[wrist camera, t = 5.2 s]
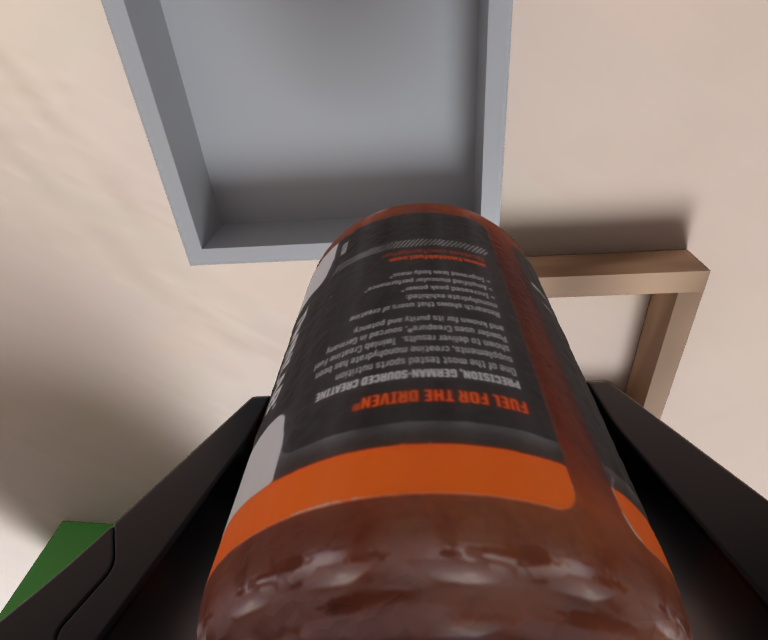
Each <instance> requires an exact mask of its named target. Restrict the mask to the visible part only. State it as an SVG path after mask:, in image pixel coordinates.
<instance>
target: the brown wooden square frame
mask: <svg viewBox="0 0 768 640" xmlns="http://www.w3.org/2000/svg"><path fill="white" fill-rule="evenodd" d="M526 258H527V259H528V261H529V262H530V263H531V265H532V267H533V269H534V271H535V273H536V274H537V276H538V279H539V281H540V283H541V286H542V288H543V290H544V292H545V294H546V296H547V298H552V297H578V296H605V295H632V294H652V296H651V300H650V303H649V307H648V311H647V314H646V318H645V322H644V325H643V329H642V333H641V337H640V340H639V344H638V348H637V351H636V355H635V359H634V362H633V366H632V370H631V374H630V377H629V381H628V385H627V388H626V392H625V394H626V395H628V396H629V397H630V398H632V399H633V400H634V401H636V402H637V403H638V404H640V405H641V406H642V407H644V408H645V409H646V410H648V411H649V412H650V413H652V414H653V415H654V416H656V417H657V418H658V419H660V418H661V416H662V413H663V410H664V407H665V404H666V401H667V398H668V395H669V392H670V389H671V386H672V383H673V380H674V377H675V374H676V371H677V368H678V365H679V362H680V359H681V356H682V354H683V351H684V348H685V345H686V342H687V339H688V336H689V333H690V330H691V327H692V324H693V321H694V318H695V315H696V312H697V309H698V306H699V303H700V300H701V297H702V294H703V291H704V289H705V286H706V283H707V280H708V277H709V274H710V270H709V269H708V268H707V267H706V266H705V265H704V264H703V263H702V262H700V261H699V260H698V259H697V258H696V257H695V256H694V255H693V254H692V253H691V252H689V251H688V250H667V251H645V252H622V253H600V254H578V255H555V256H533V257H526Z"/></svg>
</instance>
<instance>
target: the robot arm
mask: <svg viewBox="0 0 768 640" xmlns="http://www.w3.org/2000/svg"><path fill="white" fill-rule="evenodd" d="M586 384H587V385H588V387H589V389H590V392H591V394H592V396H593V398H594V400H595V402H596V405H597V407H598V410H599V412H600V414H601V416H602V418H603V420H604V422H605V425H606V428H607V430H608V432H609V434H610V437H611V439H612V441H613V443H614V445H615V447H616V450H617V452H618V455H619V457H620V458H621V460H622V462H623V464H624V466H625V469H626V471H627V474H628V476H629V479H630V480H631V482H632V484H633V486H634V489H635V491H636V493H637V496H638V498H639V500H640V502H641V504H642V506H643V508H644V511H645V513H646V515H647V518H648V521H649V524H650V526H651V528H652V530H653V532H654V534H655V536H656V538H657V540H658V542H659V544H660V546H661V548H662V551H663V553H664V555H665V558H666V560H667V562H668V565H669V567H670V569H671V572H672V574H673V576H674V579H675V581H676V584H677V586H678V589H679V592H680V597H681V601H682V603H683V606H684V608H685V611H686V614H687V616H688V619H689V622H690V626H691V630H692V634H693V639H694V640H768V500H767V499H765V498H764V497H763V496H761V495H760V494H759V493H757V492H756V491H755V490H753V489H752V488H751V487H749V486H748V485H747V484H745V483H744V482H743V481H741V480H740V479H739V478H737V477H736V476H735V475H733V474H732V473H731V472H729V471H728V470H727V469H725V468H724V467H723V466H721V465H720V464H719V463H717V462H716V461H715V460H713V459H712V458H710V457H709V456H708V455H706V454H705V453H704V452H702V451H701V450H700V449H698V448H697V447H696V446H694V445H693V444H692V443H690V442H689V441H688V440H686V439H685V438H684V437H682V436H681V435H680V434H678V433H677V432H676V431H674V430H673V429H672V428H670V427H669V426H668V425H666V424H665V423H664V422H662V421H661V420H660V419H658V418H657V417H656V416H654V415H653V414H652V413H650V412H649V411H648V410H646V409H645V408H644V407H642V406H641V405H640V404H638V403H637V402H636V401H634V400H633V399H632V398H630V397H629V396H628V395H626V394H625V393H624V392H622V391H621V390H620V389H618V388H617V387H616V386H614V385H613V384H612V383H610V382H608V381H604V380H602V381H587V382H586ZM270 397H271V396H256V397H252V398H251V399H250V400H248V401H247V402H246V403H245V404H244V405H243V406H242V407H241V408H240V409H239V410H238V411H236V412H235V413H234V414H233V415H232V416H231V417H230V418H229V419H228V420H227V421H226V422H224V423H223V424H222V425H221V426H220V427H219V428H218V429H217V430H216V431H215V432H214V433H213V434H211V435H210V436H209V437H208V438H207V439H206V440H205V441H204V442H203V443H202V444H201V445H199V446H198V447H197V448H196V449H195V450H194V451H193V452H192V453H191V454H190V455H189V456H187V457H186V458H185V459H184V460H183V461H182V462H181V463H180V464H179V465H178V466H177V467H175V468H174V469H173V470H172V471H171V472H170V473H169V474H168V475H167V476H166V477H165V478H163V479H162V480H161V481H160V482H159V483H158V484H157V485H156V486H155V487H154V488H153V489H152V490H150V491H149V492H148V493H147V494H146V495H145V496H144V497H143V498H142V499H141V500H140V501H138V502H137V503H136V504H135V505H134V506H133V507H132V508H131V509H130V510H129V511H128V512H126V513H125V514H124V515H123V516H122V517H121V518H120V519H119V520H118V521H117V522H116V523H115V524H114V527H110V528H109V529H108V530H107V531H106V532H104V533H103V534H102V535H101V536H100V537H99V538H98V539H97V540H96V541H95V542H94V543H92V544H91V545H90V546H89V547H88V548H87V549H86V550H85V551H83V552H82V553H81V554H80V555H79V556H78V557H77V558H76V559H74V560H73V561H72V562H71V563H70V564H69V565H68V566H66V567H65V568H64V569H63V570H62V571H61V572H59V573H58V574H57V575H56V576H55V577H53V578H52V579H51V580H50V581H49V582H47V583H46V584H45V585H44V586H43V587H41V588H40V589H39V590H38V591H36V592H35V593H34V594H33V595H32V596H30V597H29V598H28V599H27V600H25V601H24V602H23V603H22V604H20V605H19V606H18V607H17V608H16V609H14V610H13V611H12V612H11V613H9V614H8V615H7V616H6V617H4V618H3V619H2V620H1V621H0V640H196V630H197V621H198V615H199V611H200V606H201V602H202V597H203V593H204V589H205V586H206V583H207V580H208V577H209V574H210V571H211V568H212V565H213V563H214V560H215V557H216V554H217V552H218V549H219V546H220V543H221V540H222V536H223V533H224V530H225V527H226V524H227V521H228V519H229V516H230V513H231V510H232V507H233V504H234V501H235V498H236V495H237V493H238V490H239V487H240V484H241V481H242V478H243V475H244V472H245V469H246V466H247V463H248V460H249V458H250V455H251V453H252V450H253V445H254V441H255V438H256V435H257V432H258V430H259V428H260V425H261V423H262V421H263V418H264V415H265V411H266V409H267V406H268V403H269V400H270Z"/></svg>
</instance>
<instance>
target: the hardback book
mask: <svg viewBox="0 0 768 640" xmlns="http://www.w3.org/2000/svg"><path fill="white" fill-rule="evenodd" d="M110 527H114V524H100V523H86V522H71V521H62V523H61V524H60V526H59V527H58V529H57V530H56V532H55V533H54V535H53V536H52V538H51V539H50V541H49V542H48V544H47V545H46V547H45V548H44V549H43V551H42V552H41V554H40V555H39V557H38V558H37V560H36V561H35V563H34V564H33V566H32V567H31V569H30V570H29V572H28V573H27V575H26V576H25V578H24V579H23V580H22V582H21V583H20V585H19V586H18V588H17V589H16V591H15V592H14V594H13V595H12V597H11V598H10V600H9V601H8V603H7V604H6V606H5V607H4V609H3V610H2V611H1V613H0V621H1V620H2V619H3V618H4V617H6V616H7V615H8V614H9V613H11V612H12V611H13V610H14V609H16V608H17V607H18V606H19V605H20V604H22V603H23V602H24V601H25V600H27V599H28V598H29V597H30V596H32V595H33V594H34V593H35V592H36V591H38V590H39V589H40V588H41V587H43V586H44V585H45V584H46V583H47V582H49V581H50V580H51V579H52V578H53V577H55V576H56V575H57V574H58V573H59V572H61V571H62V570H63V569H64V568H65V567H66V566H68V565H69V564H70V563H71V562H72V561H73V560H74V559H76V558H77V557H78V556H79V555H80V554H81V553H82V552H83V551H85V550H86V549H87V548H88V547H89V546H90V545H91V544H92V543H94V542H95V541H96V540H97V539H98V538H99V537H100V536H101V535H102V534H103V533H104V532H106V531H107V530H108V529H109V528H110Z"/></svg>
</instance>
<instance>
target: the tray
mask: <svg viewBox="0 0 768 640" xmlns="http://www.w3.org/2000/svg"><path fill="white" fill-rule="evenodd" d="M101 2H102V5H103V8H104V11H105V14H106V17H107V20H108V23H109V25H110V28H111V31H112V34H113V37H114V40H115V43H116V46H117V49H118V52H119V55H120V58H121V61H122V64H123V67H124V70H125V73H126V76H127V79H128V82H129V85H130V88H131V91H132V94H133V97H134V100H135V103H136V106H137V109H138V112H139V115H140V118H141V121H142V124H143V127H144V130H145V132H146V135H147V138H148V141H149V144H150V147H151V150H152V153H153V156H154V159H155V162H156V165H157V168H158V171H159V174H160V177H161V180H162V183H163V186H164V189H165V192H166V195H167V198H168V201H169V204H170V207H171V210H172V213H173V216H174V219H175V222H176V225H177V228H178V231H179V234H180V236H181V239H182V242H183V245H184V248H185V251H186V254H187V257H188V260H189V263H190V266H191V265H213V264H235V263H256V262H278V261H300V260H321V258H322V257H323V255H324V253H325V252H326V250H327V249H328V248H329V247H330V246H331V244H332V243H333V242H334V241H335V240H336V239H337V238H338V237H339V236H340V235H341V234H342V233H343V232H344V231H345V230H346V229H348V228H349V227H350V226H352V225H353V224H355V223H356V222H358V221H359V220H361V219H362V218H364V217H367V216H369V215H372V214H374V213H376V212H378V211H381V210H384V209H387V208H390V207H394V206H399V205H405V204H415V203H435V204H446V205H452V206H456V207H461V208H465V209H467V210H470V211H472V212H474V213H476V214H478V215H480V216H482V217H484V218H486V219H487V220H489V221H491V222H492V223H494V224H496V225H497V226H498V227H499V224H500V208H501V191H502V174H503V158H504V141H505V124H506V108H507V91H508V75H509V58H510V41H511V25H512V8H513V0H101Z"/></svg>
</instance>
